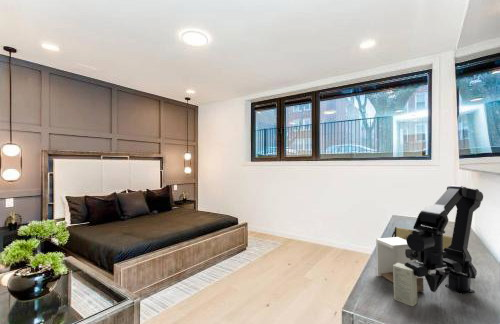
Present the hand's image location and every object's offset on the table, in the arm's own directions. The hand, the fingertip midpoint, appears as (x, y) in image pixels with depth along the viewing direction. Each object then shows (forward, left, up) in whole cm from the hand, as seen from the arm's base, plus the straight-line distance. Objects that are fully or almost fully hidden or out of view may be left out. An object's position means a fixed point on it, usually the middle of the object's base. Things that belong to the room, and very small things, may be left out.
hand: (433, 291), depth 86 cm
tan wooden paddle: (0, -16, -3) cm, 16 cm away
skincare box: (+10, -2, -3) cm, 11 cm away
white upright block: (0, -17, -3) cm, 17 cm away
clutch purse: (-26, -25, -4) cm, 36 cm away
